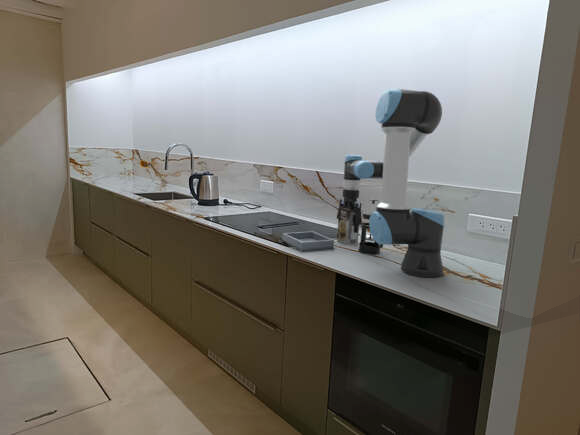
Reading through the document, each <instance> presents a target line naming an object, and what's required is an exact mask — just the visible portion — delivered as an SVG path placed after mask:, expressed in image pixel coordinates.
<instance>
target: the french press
mask: <svg viewBox="0 0 580 435" xmlns="http://www.w3.org/2000/svg"><path fill="white" fill-rule="evenodd" d="M368 201H371V202H372V203H371V204H372V210H371V211H363V212H362V211H361V215H362V218H363V219H364V220H369V219H370V217H371V216H370V215H371V213H373V212H374V206H375V204H376V203H375V202H379V199H376V198H369V199H368ZM360 228H361V234H360V242H358V243H359V244H358V249H357V251H358V253H361V254H365V255H379V254H381V249H383V247H384V244H378V243H377V242H376V241H375V240H374V239H373V237H372V235H371V232H370V231H369V232H370V233H369V235H368V234H367V230H370V227H369V222H362V223H361V225H360Z"/></svg>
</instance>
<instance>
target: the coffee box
mask: <svg viewBox="0 0 580 435" xmlns="http://www.w3.org/2000/svg"><path fill="white" fill-rule="evenodd" d="M338 209H339V218H338V219H337V233H336V234H337V235H336V241H338V242H339V243H342V244H344V245H346V246H352V245H359V244H358V243H359V235H360V234H359V232H360V225H359V226H358V232H357V239H353V240H352V239H351V233H352V225H353V215H355V210H349V209H347V208H343V207H339V206H338ZM355 223H356V222H355Z"/></svg>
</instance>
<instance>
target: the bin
mask: <svg viewBox="0 0 580 435" xmlns="http://www.w3.org/2000/svg"><path fill="white" fill-rule="evenodd" d="M282 240H283V241H285V242H287V243H289V244H290V245H292V246H293V247H294V249H295V248H296V249H295V250H298V251H299V252H301V253H302V252H313V251H316V252H317V251H325V250H326V251H327V250H334V248H335V247H334V246H335V245H334V244H335V239H332V238H330V237H328V236H325V235H322V234H320V233H318V232H316V231H314V230H313V231H299V232H296V231H295V232H283V233H282ZM293 247H292V248H293Z"/></svg>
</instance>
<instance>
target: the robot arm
mask: <svg viewBox="0 0 580 435" xmlns="http://www.w3.org/2000/svg"><path fill="white" fill-rule="evenodd" d="M442 116H443V108H442V104H441V101H440V100H439V99H438V97H437V96H436V95H435V94H434V93H432V92H429V91H427V90H426V91H425V90H422V91H421V90H413V89H405V88H404V89H403V88H388V89H387V90H386V89H385V91H384V92H382V94H381V95H380V97H379V99H378V101H377V105H376V108H375V120H376V122H377V123H379V124H380V125H381V126H380V127H381V128H380V129H381V131H382V132H383V134H385V135H384V150H383V161H381V160H380V161H379V160H363V158H362V155H358V154H346V156H345V157H344V158H345V159H344V162H343V163H344V166H343V167H344V168H343V169H344V171H343V183H342V188H343V189H342V194H341V195H342V196H341V197H343V198H340V199H339V204H338V209H337V213H336V219H337V220H338V218H339V207H343V208H347V209H349V210H355V215H353V225H352V233H351V239H352V240H353V239H357V232H358V226H359V227H360V226H361V223H363V220H362V218H363V217H362V202H358V199H359V198H360V190H359V189H360V186H361V185H360V184H361V180H364V179H365V180H367V179H375V180H377V179H379V180H382V181H381V200H380V202H379V203H378V204H377V205H376V207H375V211H373V213H371V215H370V216H371V217H370V219H369V221H368V223H369V227H370V229H369V232H371V235H372V237H373V239H374V240H375V241H376V242H377V243H378V244H383V245H387V246H391V245H407V250H406V253H405V254H404V257H403V260H402V261H401V263H400V270H401V271H402V272H404V273H406V274H409V275H411V276H416V277H419V278H420V277H421V278H440V277H442V276H444V270H445V268H444V265H443V261H442V260H443V259H442V255H441V252H442V251H441V249H442V245H443V243H442V241H443V234H444V227H445V216H444V215H443V214H442V213H440V212H438V211H434V210H429V209H424V208H418V207H412V208H410V206H409V205H408V203H407V190H408V178H409V177H408V175H409V164H410V163H409V161H410V159H409V158H411V156H412V155H413V154H414V153H415V151H416V149H417V148H418V147H420V144H421V143H422V142H423V141H424V139H425V138H426V137H427V136H428V135H430V134H432V133H434V131H435V130H436V129H437V127H438V126H439V125H440V123H441V120H442ZM355 222H356V223H355Z"/></svg>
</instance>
